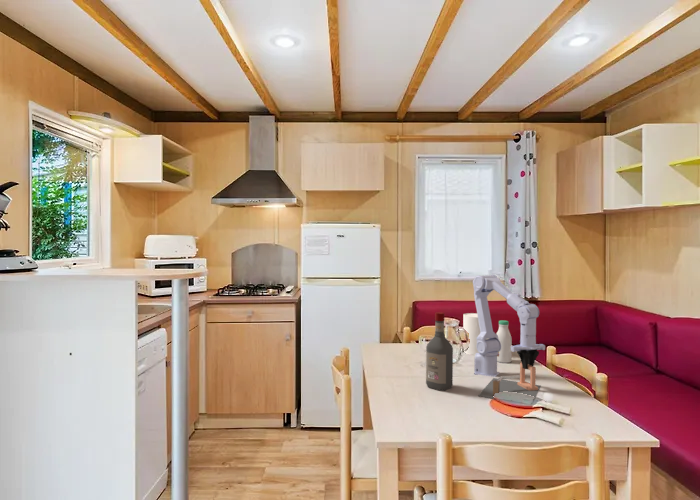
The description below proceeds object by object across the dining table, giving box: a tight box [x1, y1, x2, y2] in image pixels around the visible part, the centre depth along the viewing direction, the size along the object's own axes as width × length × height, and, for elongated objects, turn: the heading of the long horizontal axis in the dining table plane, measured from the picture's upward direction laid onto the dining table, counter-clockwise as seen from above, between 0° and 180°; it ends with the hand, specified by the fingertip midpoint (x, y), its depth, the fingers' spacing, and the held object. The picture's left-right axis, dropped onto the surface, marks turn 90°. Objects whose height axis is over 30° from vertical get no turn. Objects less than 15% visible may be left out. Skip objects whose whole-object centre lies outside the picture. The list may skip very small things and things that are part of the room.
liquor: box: [425, 311, 454, 392], centre depth 177 cm, size 9×9×30 cm
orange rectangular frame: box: [516, 361, 538, 391], centre depth 176 cm, size 4×8×9 cm, turn 14°
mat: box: [477, 377, 542, 400], centre depth 172 cm, size 19×25×1 cm
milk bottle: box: [496, 319, 513, 364], centre depth 216 cm, size 8×8×20 cm
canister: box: [462, 312, 489, 357], centre depth 233 cm, size 14×14×20 cm
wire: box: [493, 374, 520, 396], centre depth 170 cm, size 7×16×6 cm, turn 149°
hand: (527, 368), depth 176 cm, fingers closed
